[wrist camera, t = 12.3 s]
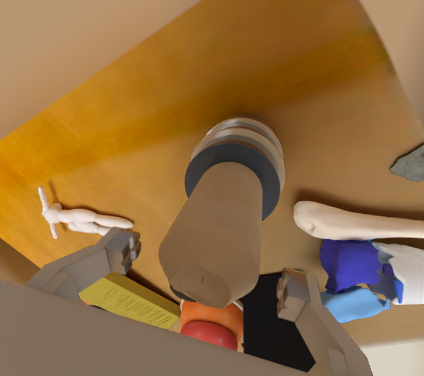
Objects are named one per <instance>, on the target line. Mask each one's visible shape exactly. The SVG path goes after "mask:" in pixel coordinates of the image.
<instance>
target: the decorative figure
mask: <svg viewBox="0 0 424 376" xmlns="http://www.w3.org/2000/svg"><path fill="white" fill-rule="evenodd" d="M38 192H39V195H40V198H41V202H42V204H43V208H42V211H43V212H42V213H41V215H42V216H44V217H45V220H46V221H48V222H49V225H50V227H51V228H50V230H52V234H53V237H54V238H55V239H57V238H58V237H59V234H58V230H57V228H56V224H55V223H59V222H64V223H68V228H69V229H70V230H72V231H81V232H85V233H98V234H100V235H103V236H104V235H105V234H106V233H107V232H108V231H109V230H110V229H111V228H112V227H114V226H116V227H120V228H124V229H127V228H131V227H133V223H132V222H131V221H129V220H127V219H124V218H120V217H115V216H107V215H100V214H96V213H94V212H92V211H89V210H85V209H72V210H61V209H62V206H61V204H59V203H55V204H53V205H51V206H50V205H49V202H48V200H47V196H46V193H45V190H44V188H43V187H39V188H38ZM94 221H95V222H96V223H98V224H100V225H97V224H96V223H94ZM102 225H103V226H102Z"/></svg>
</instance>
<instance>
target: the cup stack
mask: <svg viewBox="0 0 424 376" xmlns="http://www.w3.org/2000/svg"><path fill="white" fill-rule="evenodd" d="M283 160H284V158H283V150H282V146H281V144H280V141H279V140H278V137H277V135H276V133H275V131H274V129H273V128H272V126H271V125H270V124H269V123H268V122H267V121H265V120H264V119H262V118H260V117H258V116H256V115H252V114H245V113H244V114H236V115H232V116H230V117H228V118H226V119H224V120H223V121H221V122H220V123H218V124H217V125H215V126H214V127H213V128H211V129H210V130H209V131H208V133H207V134H206V135H205V137H204V138H203V140H202V141H200V143H199V144H198V145H197V146H196V147H195V149H194V151H193V152H192V155H191V157H190V160H189V166H188V168H187V170H186V174H185V190H186V194H187V197H188V198H189V197H190V195H191V193H192V192H193V190H194V189H195V187H196V185H197V184H198V182H199V180H200V179H201V177H202V176H203V174H204V173H205V172H206V171H207V170H208V169H209V168H210V167H212V166H214V165H216V164H218V163H222V162H236V163H240V164H242V165H245V166H247V167H248V168H250V169H251V170H252V171H253V172H254V173H255V174H256V175H257V177H258V178H259V180H260V183H261V186H262V191H263V200H262V221H263V220H264V219H265V218H267V217H268V216H269V215H270V214H271V213H272V211H273V210H274V209H275V207H276V205H277V203H278V201H279V197H280V193H281V191H282V189H283V186H284V181H285V169H284V164H283Z"/></svg>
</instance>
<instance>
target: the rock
mask: <svg viewBox="0 0 424 376" xmlns="http://www.w3.org/2000/svg"><path fill="white" fill-rule="evenodd" d="M390 171H391V172H392V174H395V175H400V176H403V177H404V178H406V179H407V180H411V181H415V182H420V181H424V145H423V146H421V147H420V148H418V149H417V150H415V151H413V152H412V153H411V154H409V155H407V156H404V157H402V158H400V159H398V161H397V163H396V164H395V165H394V166H392V167H391V168H390Z"/></svg>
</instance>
